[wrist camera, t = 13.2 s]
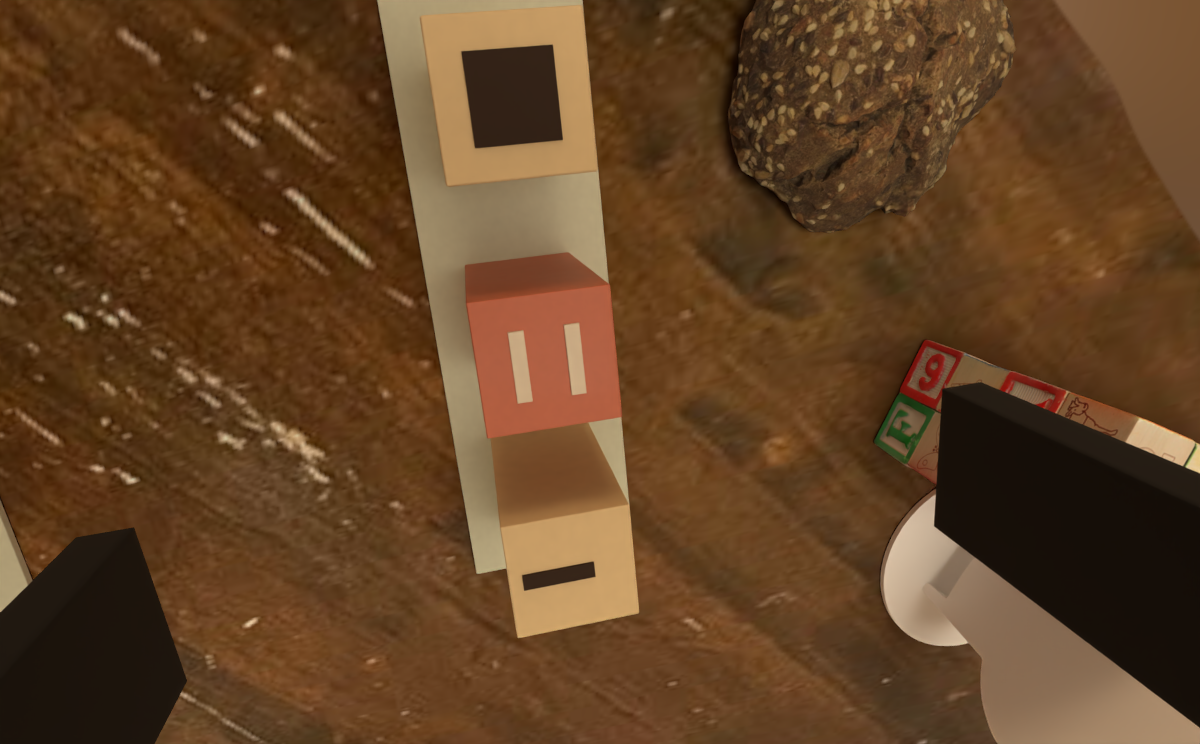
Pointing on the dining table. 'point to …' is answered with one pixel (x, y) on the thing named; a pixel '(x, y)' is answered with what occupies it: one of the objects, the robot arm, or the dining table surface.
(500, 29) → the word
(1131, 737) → the panda figurine
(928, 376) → the stack of blocks
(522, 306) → the equals sign block
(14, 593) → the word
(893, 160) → the bread roll
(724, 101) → the dining table surface
